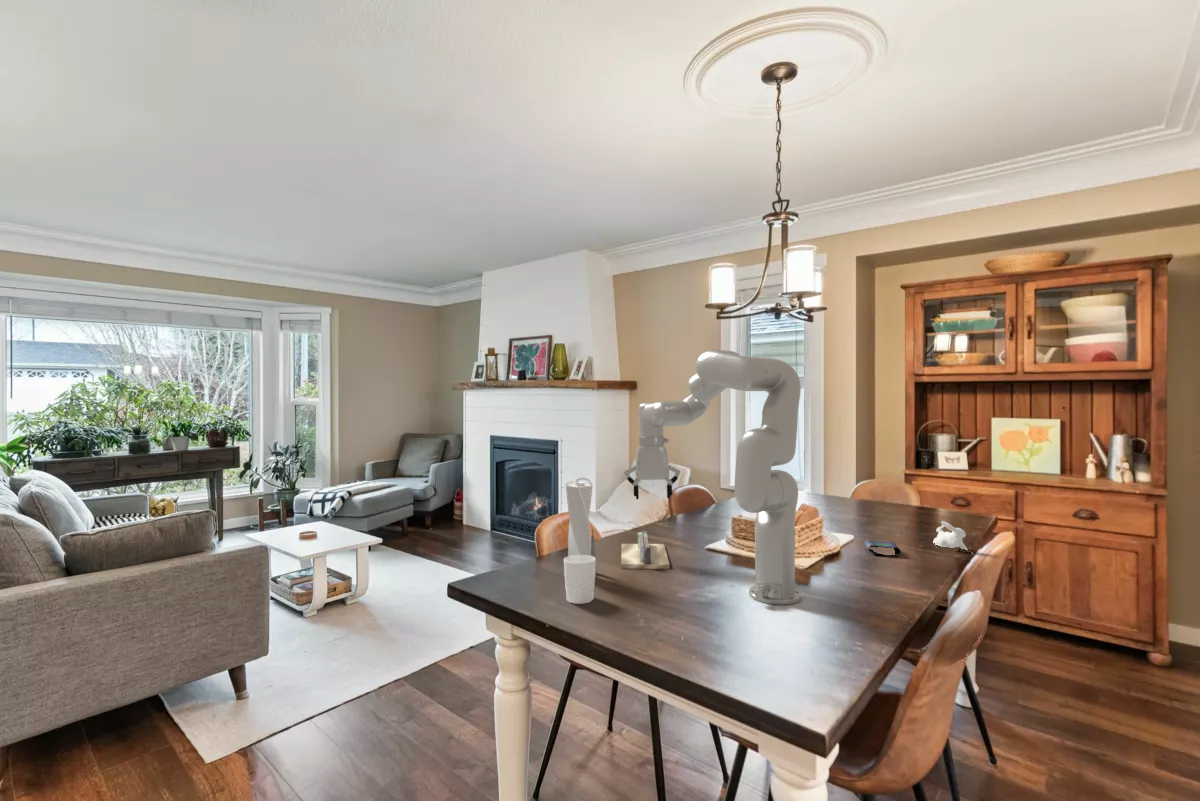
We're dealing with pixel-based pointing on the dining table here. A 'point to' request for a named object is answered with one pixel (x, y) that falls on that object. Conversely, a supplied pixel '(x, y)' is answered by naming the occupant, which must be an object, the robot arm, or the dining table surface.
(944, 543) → the rabbit figurine
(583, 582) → the white cup
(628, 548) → the tong rest
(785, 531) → the robot arm
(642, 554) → the bar
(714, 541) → the dining table surface
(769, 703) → the dining table surface
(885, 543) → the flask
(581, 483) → the skyscraper
